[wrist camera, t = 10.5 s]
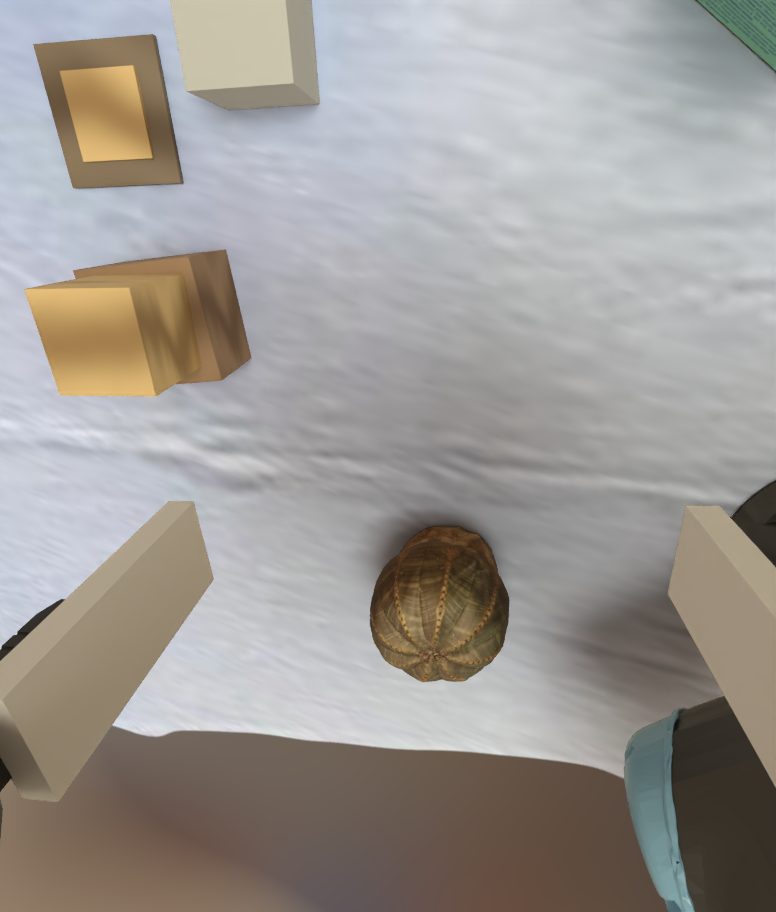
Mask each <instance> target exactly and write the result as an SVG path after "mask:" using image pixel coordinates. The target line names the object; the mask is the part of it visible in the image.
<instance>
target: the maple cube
mask: <svg viewBox="0 0 776 912" xmlns="http://www.w3.org/2000/svg"><path fill="white" fill-rule="evenodd" d="M24 290H25V293H26V296H27V299H28V302H29V305H30V308H31V311H32V314H33V316H34V319H35V322H36V325H37V328H38V331H39V334H40V337H41V340H42V343H43V346H44V349H45V352H46V355H47V358H48V361H49V364H50V367H51V370H52V373H53V376H54V379H55V382H56V385H57V388H58V391H59V393H60V395H75V396H157V395H159V394H160V393H162V392H163V391H165V390H167V389H168V388H170V387H171V386H173V385H174V384H176V383H177V382H179V381H181V380H182V379H184V378H185V377H187V376H188V375H190V374H191V373H193V372H194V371H196V370H198V369H199V368H201V367H202V365H201V360H200V355H199V350H198V345H197V340H196V335H195V330H194V325H193V320H192V315H191V310H190V305H189V300H188V295H187V290H186V285H185V279H184V274H149V275H95V276H90V277H84V278H79V279H74V280H69V281H64V282H59V283H53V284H48V285H43V286H38V287H33V288H28V289H24Z"/></svg>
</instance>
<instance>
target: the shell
mask: <svg viewBox="0 0 776 912" xmlns="http://www.w3.org/2000/svg"><path fill="white" fill-rule="evenodd" d="M370 613H371V614H370V627H371V631H372V637H373V640H374V642H375V644H376V646H377V648H378V649H379V651H380V653H381V655H382V657H383V658H384V659H385V661H387V662H388V663H389V664H391V665H393V666H394V667H397V668H399V669H402V670H404V671H405V672H406V673H407V674H409V675H410V676H412V677H414V678H416V679H417V680H419V681H422V682H428V681H437V680H441V679H443V680H446V681H454V682H456V681H466V680H467V679H468V678H470V677H471V676H473V675H475V674H476V673H477V672H479V671H481V670H482V669H483V667H484V666H487V665H488V664H490V663H491V662H492V661H493V659H494V657H496V656H497V654H498V653H499V652H500V650H501V648H502V647H503V643H504V640H505V634H506V629H507V626H508V618H509V596H508V593H507V590H506V588H505V586H504V584H503V582H502V579H501V578H500V576H499V575H498V570H497V565H496V562H495V559H494V555H493V553H492V549H491V548H490V547H489V546H488V544H487V543H486V542H484V540H483V539H482V538H481V537H480V536H479V535H477V534H472V533H468V532H466V531H464V530H463V529H462V528H461V527H456V528H455V527H447V526H435V527H431V528H427V529H425V530H423V531H421V532H419V533H418V534H416V535H414V536H413V537H412V538H411V539H410V540H409V541H408V542H407V543H406V544H405V546H404V547H403V549H402V550H401V551H400V554H399V555H397V556H396V557H394V558H393V559H391V560H390V561H389V562H388V563H387V564H386V566H385V567H384V568H383V570H382V572H381V574H380V576H379V578H378V580H377V582H376V585H375V589H374V593H373V596H372V601H371V607H370Z"/></svg>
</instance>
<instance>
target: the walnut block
mask: <svg viewBox="0 0 776 912" xmlns="http://www.w3.org/2000/svg"><path fill="white" fill-rule="evenodd" d="M73 272H74V275H75V278H76V279H79V278H84V277H90V276H95V275H149V274H184V279H185V285H186V290H187V295H188V300H189V305H190V310H191V315H192V320H193V325H194V330H195V335H196V340H197V345H198V350H199V355H200V360H201V365H202V367H201V368H199V369H198V370H196V371H194V372H193V373H191V374H190V375H188V376H187V377H185V378H184V379H182V380H181V381H179V382H177V383H176V384H184V383H196V382H209V381H221V380H223V379H224V378H225V377H227V376H228V375H229V374H231V373H232V372H233V371H235V370H236V369H237V368H239V367H240V366H241V365H243V364H244V363H245V362H246V361H248V360H249V359H250V358H251V354H250V350H249V346H248V341H247V337H246V333H245V329H244V324H243V320H242V316H241V312H240V307H239V303H238V299H237V295H236V290H235V286H234V282H233V278H232V273H231V269H230V265H229V261H228V256H227V252H226V250H218V251H210V252H202V253H194V254H185V255H177V256H169V257H161V258H152V259H144V260H136V261H128V262H121V263H115V264H109V265H103V266H97V267H91V268H85V269H79V270H73Z"/></svg>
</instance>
